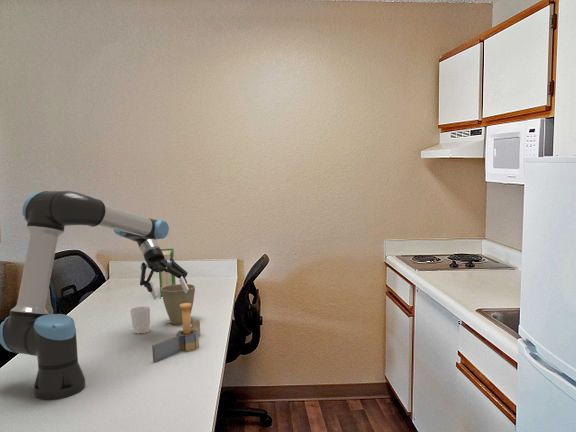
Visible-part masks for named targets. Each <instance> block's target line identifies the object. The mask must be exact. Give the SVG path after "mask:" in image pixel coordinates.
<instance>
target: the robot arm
mask: <svg viewBox="0 0 576 432" xmlns="http://www.w3.org/2000/svg"><path fill="white" fill-rule="evenodd" d="M21 211H22V216H23V217H24V218H23V219H24V220H25V222H27V223H26V229H27V230H28V231H29V233H30V235H29V240H28V245H27V249H26V254H25V255H26V256H25V260H24V264H23V265H24V266H23V270H22V271H23V272H22V276H21V281H20V286H19V291H18V296H17V297H18V298H17V302H16V305H15V306H14V307H13V308H11V309H10V311H9V315H8V317H6V318H5V319H4V321H2V322H1V323H0V345H1V347H3V348H4V349H5V350H6V351H8V352H12V353H14V354H16V355H17V354H21V355H22V354H23V355H29V356H34V357H36V358H37V367H38V368H37V373H36V377H35V382H34V385H33V394H34V397H35V398H37V399H40V400H57V399H63V398H68V397H70V396H73V395H75V394H77V393H80V392H81V391H83V390H84V389H85V388H86V386H87V383H86V377H85V374H84V373H83V371H82V368H81V366H80V363H79V357H78V345H77V343H78V342H77V328H76V323H75V320H74V318H73V317H71V315H70V316H69V315H67V314H63V313H56V314H55V313H49V311H48V310H47V308H46V304H47V299H48V293H49V288H50V283H51V282H50V281H51V277H52V272H53V266H54V262H55V255H56V249H57V244H58V238H59V237H60V236H62V235H63V234H64V232H65V227H66V226H88V227H93V228H94V227H98V226H100V227H104V228H108V229H112V230H113V232H114V233H115V234H116V235H118V236H119V237H122V238H125V239H128V240H130V241H133V242H136V244H137V246H138V247H139V249H140V252H141V253H142V256H143V259H144V261H145V262H141V265H140V270H141V271H140V273H141V274H140V280H139V286H142V287H144V288H146V290H147V292H148V293H151V296H152V298H153V300H154V301H155V300H157V298H158V293H157V290H156V288H155V286H154V284H153V282H152V281H151V279H152V276H153V275H154V273H156V274H157V273H159V272H163V271H165V272H168V273H170V274H172V275H174V276H175V278H178V279H179V280H178V281H179V284H181V286H182V288H183V290H184V292H185V293H187V292H188V290H189V288H188V286H187V284H188V281H187V279H186V278H187V276H188V274H189V272H187V271H186V269H184V268H183V267H181V266H180V265H179V264H178V263H177V262H176V261H175V259H174V260H173V258H170V260H166V259H165V258H164V255H163V253H162V251H161V249H162V248H161V246H160V245H159V243H158V240H163V239H165V238H166V237H168V235H169V231H170V227H169V223H168V222H167V221H166V220H163V219H153V218H150V217H146V216H143V215H140V214H137V213H133V212H131V211H127V210H123V209H121V208H117V207H115V206H114V207H113V206H111V205H107V204H105V202H104V201H103V200H101V199H98V198H95V197H92V196H89V195H85V194H83V193H80V192H77V191H71V190H43V191H37V192H33V193H32V194H31V195H29V196H28V197H27V198H26V199H25V200H24V203H23V204H22V210H21ZM166 267H167V269H166ZM147 268H148V269H149V270H150V272H149V274H148V277H147V278H146V272H147V271H146V270H147ZM145 279H146V280H145Z"/></svg>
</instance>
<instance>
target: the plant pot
mask: <svg viewBox="0 0 576 432" xmlns="http://www.w3.org/2000/svg"><path fill="white" fill-rule="evenodd" d="M187 286H188V288H189V290H188V292H187V293H185V292H184V290H183V288H182V286H181V284H180V283H178V284H177V283H176V284H175V285H169V286H165V287H162V288H161V292H162V297H163V299H162V301H163V304H164V306H165V307H164V308H165V311H166V313H167V316H168V318H169V320H170V322H171V324H172V325H176V324H177V326H178V324H179V325H183V321H182V308H180V304H182V303H191V306H192V307H190V315H191V314H192V311H193V307H194V306H193V305H194V300H195V291H196V286H195V285H194V284H191V283H190V284H189V283H187Z"/></svg>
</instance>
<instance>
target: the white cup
mask: <svg viewBox="0 0 576 432" xmlns="http://www.w3.org/2000/svg"><path fill="white" fill-rule="evenodd" d="M150 313H151V309H150V307H149V306H145V305H144V306H135V307H132V308H131V309H130V317H131V324H132V331H133V333H134V334H135V333H138V334H137V335H140V334H139V333H144V334H147V333H149V332H150V331H151V328H150V327H151V314H150ZM146 332H147V333H146Z"/></svg>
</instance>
